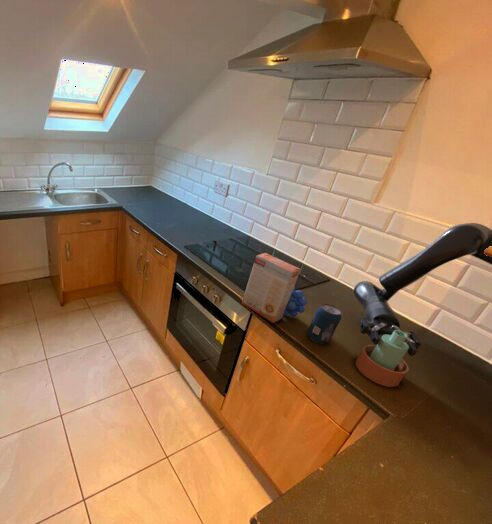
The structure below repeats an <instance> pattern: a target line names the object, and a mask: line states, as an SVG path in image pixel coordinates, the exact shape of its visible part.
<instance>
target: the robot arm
mask: <svg viewBox="0 0 492 524" xmlns="http://www.w3.org/2000/svg"><path fill="white" fill-rule="evenodd" d="M489 246H492V228H490V227H488V226H486V225H483V224H480V223H478V222H477V223H476V222H466V223H459V224H455V225H453V226H451V227H450V228H448V229H447V230H446V231H445V232H443V233H442V234H441V235H440V236H438V237H437V238H435V240H434V241H432V243H430V244H429V245H428V246H427V247H425V248H423V250H421V251H419V252H418V253H417V254H415V255H414V256H411V257H410V258H409V259H407V260H405V261H403V262H401V263H399V264H398V265H395V266H394V267H392V268H391V269H390V270H388V271H386V272H385V273H383V274H381V275H380V276H379V278H378V281H379V284H380V286H382V289H381V288H380V287H379V286H377V285H376V284H374V283H373V282H371V281H368V280H363V281H359V282H357V283H356V285H355V286H354V287H353V295H354V297H355V298H356V300H357V302H359V304H360V305H361V306H362V307H363V310H364V313H365V316H362V317H361V319H360V321H359V322H358V325H359V326H358V327H359V331H360V334H363V335H365V334H366V335H367V336H368V337H369V339H370V342H372V343H373V345H377V344H378V342H379V341H380V339H381V337H382V336H383V335H386V334H387V335H392V333H393V332H394V330H398V331H401V332H403V333H405V334H406V335H407V338H406V340H405V341H404V342H405V343H406V344H407V345H408V346H409V349H408V350H407V352H406V353H407V354H408V356H410V357H414V356H416V354H417V353H418V351H419V348H420V347H421V345H422V341H421V340H420V338H419V337H418V336H417V334H416V333H415V332H414V331H412V330H410V331H409V332H408V331H407V332H406V331H404V329H402V328H401V324H400V321H399V319H398V317H397V315H396V313H395V311H394V310H393V308H392V307H391V306H390V303H389V300H391V299H392V298H393V297H394V296H395V295H396V294H397V293H399V291H401V290H403V289H405V288H407V287H409V286H410V285H413V284H414V283H416V282H417V281H419V280H421V279H423V277H425V276H427V275H428V274H429V273H431V272H433V270H435V269H437V268H439V267H441V266H443V265H445V264H447V263H449V262H453V261H455V260H457V259H460V258H463V257H465V256H471V257H474V258H477V259H479V260H481V261H483V262H484V263H487V264H489V265H490V266H492V257H490V256H486V255H485V254H484V250H485V249H486V248H488V247H489ZM380 336H381V337H380ZM406 341H407V342H406Z"/></svg>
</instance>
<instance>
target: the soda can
mask: <svg viewBox="0 0 492 524" xmlns="http://www.w3.org/2000/svg"><path fill="white" fill-rule="evenodd" d="M341 320H342V311H341V309H340V308H338V307H337V306H335V305H332V304H330V303H329V304H328V303H323V304H321V306H319V307H317V309H316V311H315V313H314V316H313V318H312V320H311V322H310V325H309V327H308V328H307V335H308V337H309V339H310V340H312V341H313V342H315V343H317V344H320V345H322V344H323V345H324V344H327V343H329V342H330V341H331V339H332V337H333V336H334V334H335V332H336V330H337V328H338V326H339V324H340V322H341Z"/></svg>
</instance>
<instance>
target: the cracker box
mask: <svg viewBox="0 0 492 524" xmlns="http://www.w3.org/2000/svg"><path fill="white" fill-rule="evenodd" d="M300 272H301V268H299V267H298V266H295V265H293V264H291V263H289V262H286V261H284V260H281V259H280V258H278V257H275V256H274V255H271V254H269V253H267V252H264V253H260V254H256V256H255V258H254V262H253V265H252V268H251V271H250V274H249V278H248V281H247V284H246V287H245V291H244V294H243V297H242V300H241V304H242V305H244V306H245V307H247V308H248V309H250V310H252V311H253V312H255V313H256V314H258V315H259V316H261V317H263V318H264V319H266V320H267V321H269V322H270V323H272V324H274V323H276V322H278V321H280V320H282V319H283V316H284V315H283V314H284V311H285V309H286V306H287V304H288V301H289V299H290V296H291V293H292V291H293V288H294V289H295V287H296V286H295V285H296V283H297V280H298V278H299V275H300Z"/></svg>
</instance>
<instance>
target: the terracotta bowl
mask: <svg viewBox="0 0 492 524" xmlns="http://www.w3.org/2000/svg"><path fill="white" fill-rule="evenodd" d="M375 347H376V344H366V345H364V346H363V348H362V350H361V351H360V353H359V354H358V356H357V358H356V360H355V366H356V368H357V370H358V371H359V372H360V373H361V374H362V375H363V376H364V377H366V378H367V379H369V380H370V381H372V382H374V383H376V384H378V385H381V386H383V387H389V388H396V387H397V386H399V384H401V382H402V380H403V379H404V378H405V376H406V375H407V374H408V372H409V370H410V369H409V365H408V363H407V362H406V361H405V360H404V359H403V358H402V359H401V361H400V362H399V364H398V365H397V367H396V368H395V369H394V371H392V370H389V369H386V368H384V367H382V366H380V365H378V364H377V363H375V362H374V361H373V360H372V359H370V358H369V357H370V355H371V354H372V352H373V350H374V349H375Z"/></svg>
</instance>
